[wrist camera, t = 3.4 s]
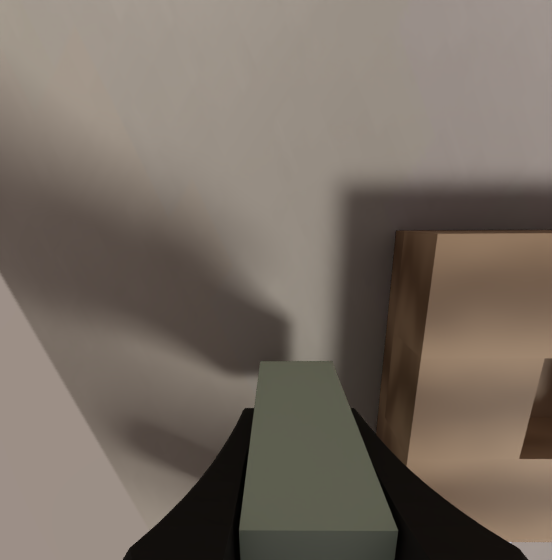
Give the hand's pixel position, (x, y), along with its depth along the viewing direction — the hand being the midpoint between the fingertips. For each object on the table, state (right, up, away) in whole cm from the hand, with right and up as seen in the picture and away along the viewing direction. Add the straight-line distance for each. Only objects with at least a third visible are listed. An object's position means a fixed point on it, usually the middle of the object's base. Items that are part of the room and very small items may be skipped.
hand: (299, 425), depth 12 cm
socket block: (+15, +1, +5) cm, 16 cm away
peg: (0, +1, +2) cm, 2 cm away
